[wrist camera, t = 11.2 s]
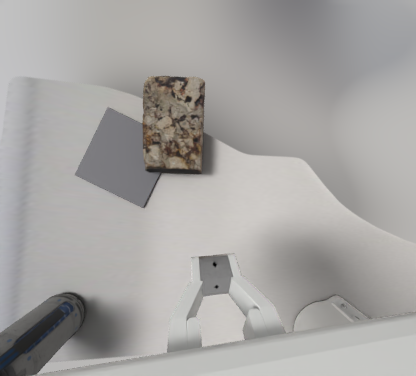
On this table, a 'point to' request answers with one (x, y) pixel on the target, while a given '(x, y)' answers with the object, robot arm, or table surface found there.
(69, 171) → the table surface
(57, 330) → the grey blue tall cylinder
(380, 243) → the table surface
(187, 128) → the stone block
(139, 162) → the mat
